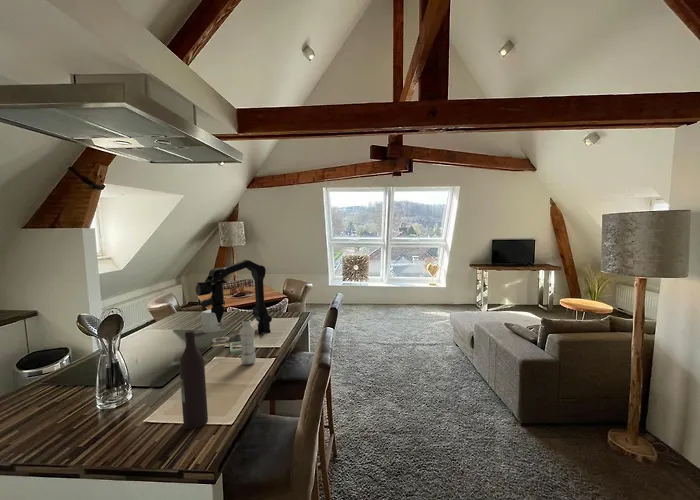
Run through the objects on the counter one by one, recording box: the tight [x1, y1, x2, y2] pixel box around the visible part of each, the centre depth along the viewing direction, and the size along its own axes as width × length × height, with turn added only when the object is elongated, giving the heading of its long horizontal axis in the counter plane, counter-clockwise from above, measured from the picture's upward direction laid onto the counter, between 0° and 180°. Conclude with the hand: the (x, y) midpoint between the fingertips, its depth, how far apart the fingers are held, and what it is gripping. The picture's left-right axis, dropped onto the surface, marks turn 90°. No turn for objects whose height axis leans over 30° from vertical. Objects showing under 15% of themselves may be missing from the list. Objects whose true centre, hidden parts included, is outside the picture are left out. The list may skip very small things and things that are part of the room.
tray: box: [229, 340, 257, 356], centre depth 173 cm, size 12×12×2 cm
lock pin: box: [215, 314, 224, 327], centre depth 180 cm, size 4×4×8 cm
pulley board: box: [211, 332, 241, 347], centre depth 183 cm, size 18×13×4 cm
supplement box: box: [200, 308, 221, 334], centre depth 204 cm, size 7×7×13 cm
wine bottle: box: [179, 329, 209, 431], centre depth 107 cm, size 7×7×30 cm
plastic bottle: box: [239, 318, 257, 366], centre depth 154 cm, size 6×7×20 cm
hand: (219, 321), depth 180 cm, fingers closed on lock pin, 4 cm apart
